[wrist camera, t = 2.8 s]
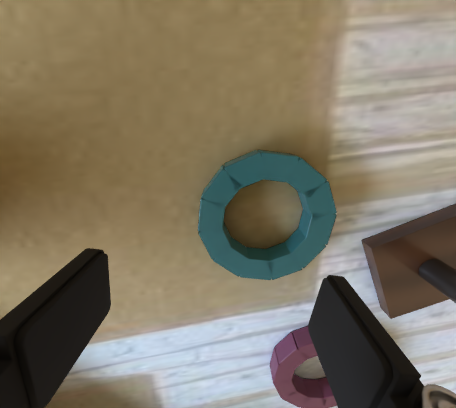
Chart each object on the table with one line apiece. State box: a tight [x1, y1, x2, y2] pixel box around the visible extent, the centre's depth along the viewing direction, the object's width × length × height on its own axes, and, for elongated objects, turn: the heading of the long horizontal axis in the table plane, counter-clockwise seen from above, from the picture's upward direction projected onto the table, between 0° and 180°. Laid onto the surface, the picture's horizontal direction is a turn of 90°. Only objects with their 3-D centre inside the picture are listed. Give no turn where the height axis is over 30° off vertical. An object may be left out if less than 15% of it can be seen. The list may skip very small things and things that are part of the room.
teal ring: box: [198, 150, 337, 280], centre depth 18 cm, size 11×11×2 cm
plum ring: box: [270, 326, 337, 408], centre depth 25 cm, size 11×11×2 cm
